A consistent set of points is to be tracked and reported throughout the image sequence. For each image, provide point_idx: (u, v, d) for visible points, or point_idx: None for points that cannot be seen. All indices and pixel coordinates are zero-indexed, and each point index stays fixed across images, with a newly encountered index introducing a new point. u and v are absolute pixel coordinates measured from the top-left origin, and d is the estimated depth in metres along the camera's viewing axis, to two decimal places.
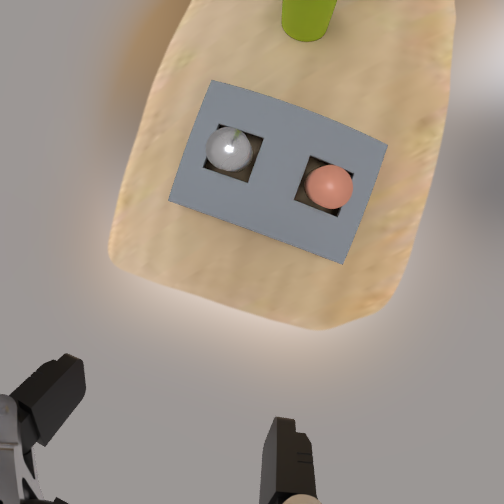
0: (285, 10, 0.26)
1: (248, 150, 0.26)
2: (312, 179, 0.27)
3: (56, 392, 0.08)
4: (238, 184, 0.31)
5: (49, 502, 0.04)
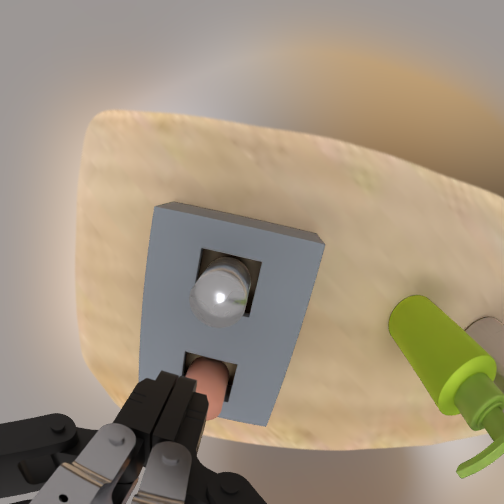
0: (424, 320, 0.24)
1: (218, 326, 0.22)
2: (200, 389, 0.23)
3: (163, 411, 0.09)
4: (188, 293, 0.25)
5: None
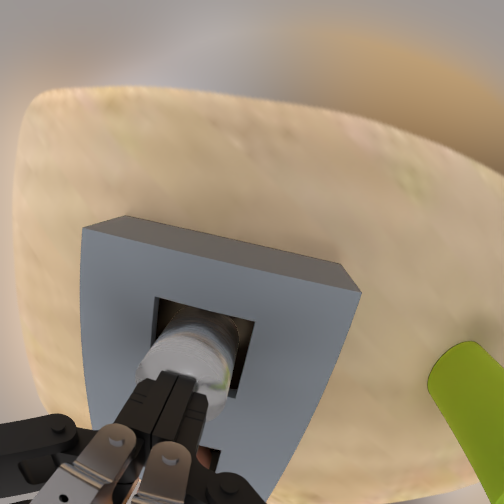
0: (482, 385, 0.14)
1: None
2: None
3: None
4: None
5: None
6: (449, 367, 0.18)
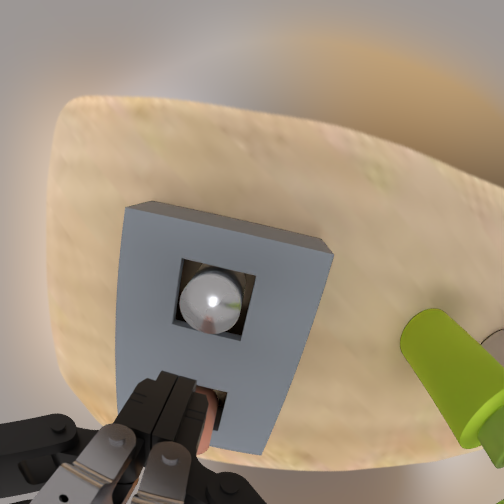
0: (443, 340, 0.20)
1: (211, 332, 0.20)
2: None
3: None
4: (167, 312, 0.21)
5: None
6: (416, 328, 0.24)
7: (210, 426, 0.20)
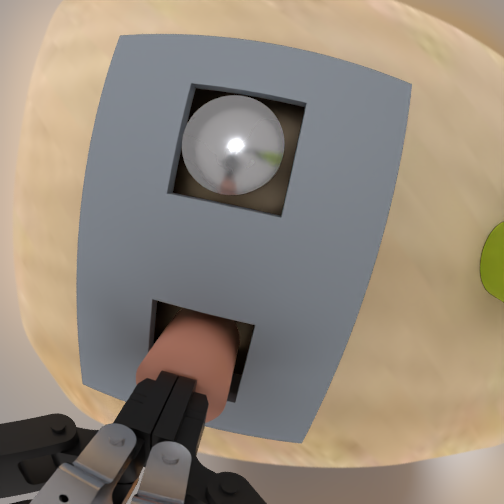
0: None
1: (232, 192, 0.12)
2: (182, 356, 0.11)
3: None
4: (160, 173, 0.13)
5: None
6: (502, 238, 0.15)
7: (228, 369, 0.13)
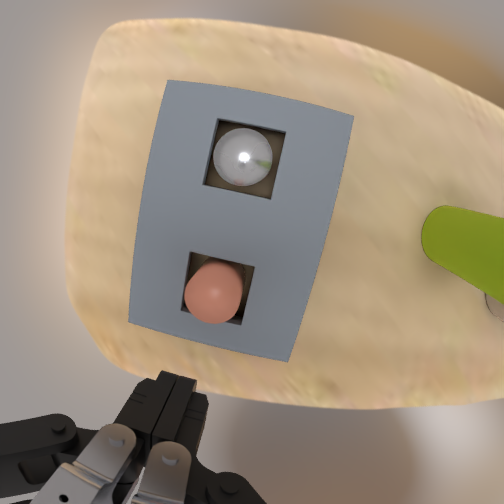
0: (464, 216, 0.20)
1: (242, 184, 0.20)
2: (215, 273, 0.21)
3: None
4: (198, 172, 0.21)
5: None
6: (436, 217, 0.24)
7: (240, 286, 0.23)
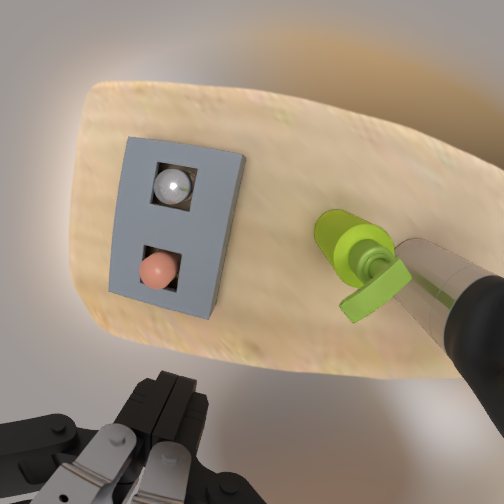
0: (333, 217, 0.33)
1: (171, 203, 0.33)
2: (156, 257, 0.34)
3: None
4: (147, 196, 0.34)
5: None
6: (321, 219, 0.37)
7: (173, 266, 0.35)
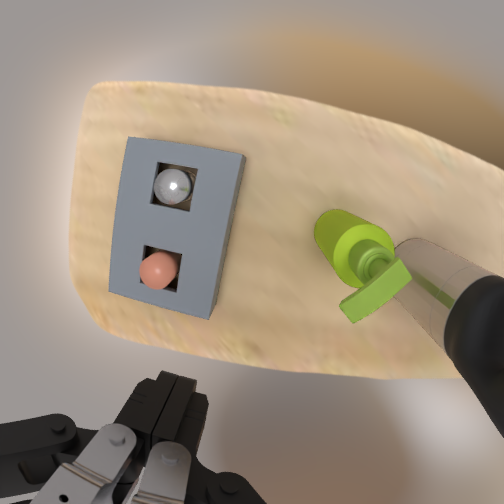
0: (333, 217, 0.33)
1: (171, 203, 0.33)
2: (156, 257, 0.34)
3: None
4: (147, 196, 0.34)
5: None
6: (321, 219, 0.37)
7: (173, 266, 0.35)
